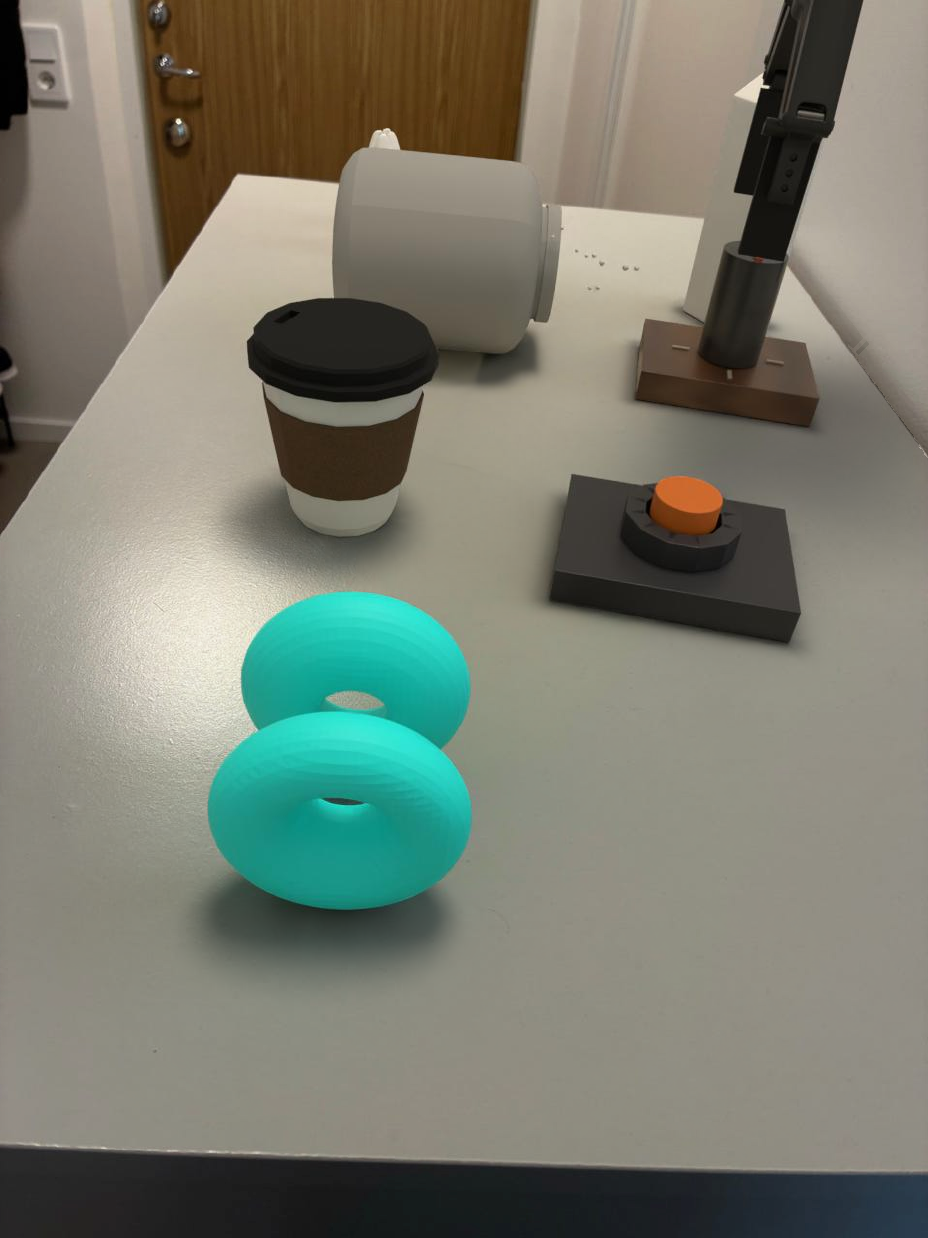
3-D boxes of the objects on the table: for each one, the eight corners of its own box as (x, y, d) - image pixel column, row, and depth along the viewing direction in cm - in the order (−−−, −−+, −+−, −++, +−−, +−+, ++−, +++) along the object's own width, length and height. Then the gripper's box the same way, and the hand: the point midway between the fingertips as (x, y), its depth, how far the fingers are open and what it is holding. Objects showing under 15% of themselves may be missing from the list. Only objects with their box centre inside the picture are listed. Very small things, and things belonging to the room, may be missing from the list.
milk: (722, 335, 89) (794, 67, 74) (681, 310, 93) (741, 51, 78) (770, 326, 91) (848, 65, 77) (728, 302, 95) (794, 50, 81)
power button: (714, 506, 58) (722, 481, 57) (716, 542, 55) (724, 517, 54) (650, 495, 59) (656, 471, 58) (648, 531, 56) (654, 505, 55)
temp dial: (697, 338, 81) (723, 232, 75) (756, 347, 80) (787, 242, 75) (697, 362, 77) (725, 253, 71) (759, 372, 77) (793, 263, 71)
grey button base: (775, 536, 63) (793, 485, 60) (789, 642, 55) (811, 587, 52) (566, 501, 64) (575, 449, 62) (548, 599, 56) (559, 544, 53)
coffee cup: (222, 529, 58) (204, 344, 51) (309, 450, 66) (305, 280, 59) (383, 580, 56) (390, 393, 48) (453, 492, 64) (469, 319, 56)
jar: (376, 223, 90) (645, 223, 85) (362, 378, 89) (632, 386, 84) (308, 108, 71) (647, 100, 66) (290, 302, 71) (630, 307, 66)
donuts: (212, 918, 38) (186, 750, 32) (254, 734, 46) (240, 569, 39) (460, 929, 39) (484, 766, 32) (460, 746, 46) (480, 585, 40)
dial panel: (797, 369, 84) (806, 340, 82) (809, 426, 76) (820, 396, 74) (639, 344, 85) (645, 316, 83) (635, 399, 77) (641, 368, 75)
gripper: (1014, -211, 39) (833, 300, 52) (913, -189, 58) (800, 181, 71) (827, -233, 39) (696, 277, 53) (789, -204, 58) (700, 165, 72)
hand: (756, 223), depth 62 cm, fingers open, 13 cm apart
